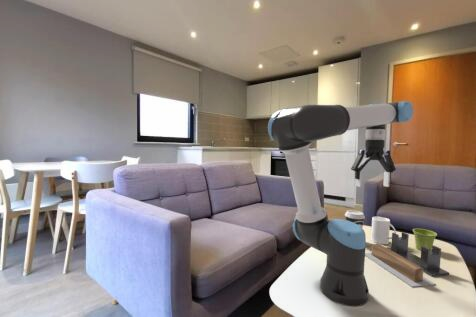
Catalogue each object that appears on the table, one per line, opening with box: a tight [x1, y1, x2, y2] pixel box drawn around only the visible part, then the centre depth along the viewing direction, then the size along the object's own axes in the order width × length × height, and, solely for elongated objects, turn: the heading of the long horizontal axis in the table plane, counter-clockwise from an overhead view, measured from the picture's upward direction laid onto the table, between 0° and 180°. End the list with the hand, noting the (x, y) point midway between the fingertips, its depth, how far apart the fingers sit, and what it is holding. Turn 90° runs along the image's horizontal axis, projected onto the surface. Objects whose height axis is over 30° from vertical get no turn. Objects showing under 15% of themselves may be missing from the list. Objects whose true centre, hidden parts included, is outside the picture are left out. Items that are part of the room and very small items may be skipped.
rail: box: [371, 243, 424, 282], centre depth 99 cm, size 3×22×5 cm, turn 10°
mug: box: [370, 216, 397, 245], centre depth 125 cm, size 12×8×12 cm
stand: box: [385, 231, 450, 278], centre depth 105 cm, size 8×24×9 cm, turn 10°
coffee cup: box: [344, 209, 366, 229], centre depth 126 cm, size 10×10×15 cm
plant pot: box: [412, 228, 438, 251], centre depth 117 cm, size 9×9×9 cm
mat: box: [365, 252, 437, 288], centre depth 99 cm, size 10×26×1 cm, turn 10°
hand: (372, 186), depth 108 cm, fingers open, 13 cm apart
